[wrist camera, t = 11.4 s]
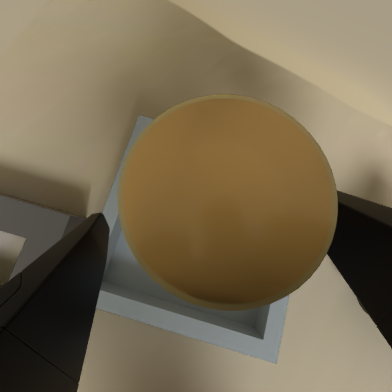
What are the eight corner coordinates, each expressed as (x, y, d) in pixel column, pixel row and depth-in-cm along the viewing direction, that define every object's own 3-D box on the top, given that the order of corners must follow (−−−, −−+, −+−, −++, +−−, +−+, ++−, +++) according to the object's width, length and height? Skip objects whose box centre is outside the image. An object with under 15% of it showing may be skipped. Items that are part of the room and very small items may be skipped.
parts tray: (295, 173, 20) (313, 163, 17) (261, 341, 17) (276, 364, 14) (146, 132, 20) (138, 114, 17) (89, 289, 18) (69, 300, 15)
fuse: (233, 220, 18) (372, 162, 4) (206, 263, 17) (270, 364, 3) (192, 194, 18) (197, 60, 5) (165, 234, 17) (70, 221, 4)
